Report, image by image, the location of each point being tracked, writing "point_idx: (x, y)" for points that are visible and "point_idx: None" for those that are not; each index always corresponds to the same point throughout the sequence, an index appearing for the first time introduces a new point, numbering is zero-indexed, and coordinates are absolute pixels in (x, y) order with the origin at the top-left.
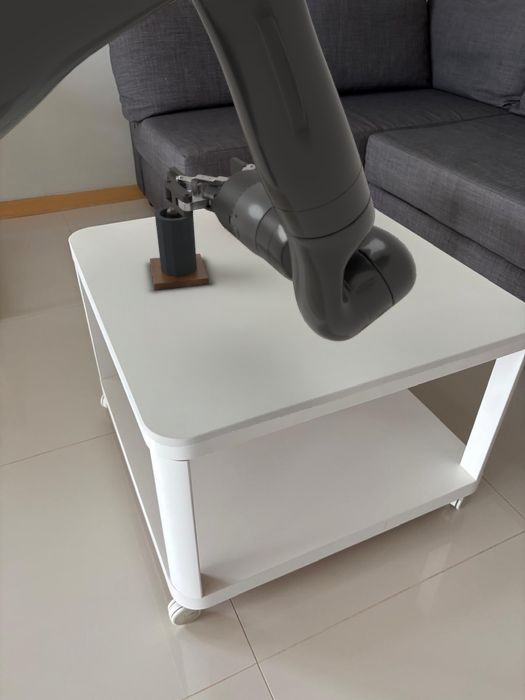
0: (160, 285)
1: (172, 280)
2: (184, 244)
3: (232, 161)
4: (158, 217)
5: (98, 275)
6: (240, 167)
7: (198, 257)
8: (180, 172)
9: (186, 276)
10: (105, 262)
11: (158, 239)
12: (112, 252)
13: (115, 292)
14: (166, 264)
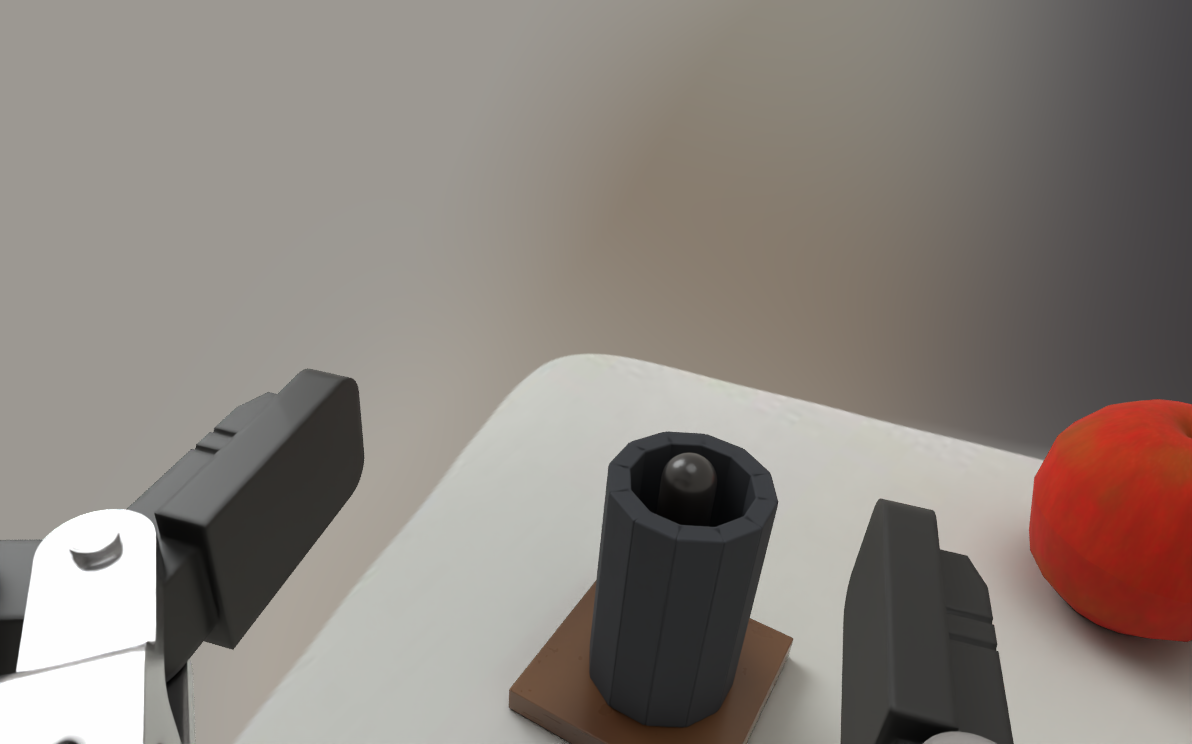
0: (530, 707)
1: (579, 718)
2: (668, 629)
3: (875, 536)
4: (611, 476)
5: (442, 524)
6: (877, 678)
7: (770, 656)
8: (246, 467)
9: (643, 732)
10: (512, 485)
11: (600, 544)
12: (568, 459)
13: (400, 629)
14: (594, 644)
